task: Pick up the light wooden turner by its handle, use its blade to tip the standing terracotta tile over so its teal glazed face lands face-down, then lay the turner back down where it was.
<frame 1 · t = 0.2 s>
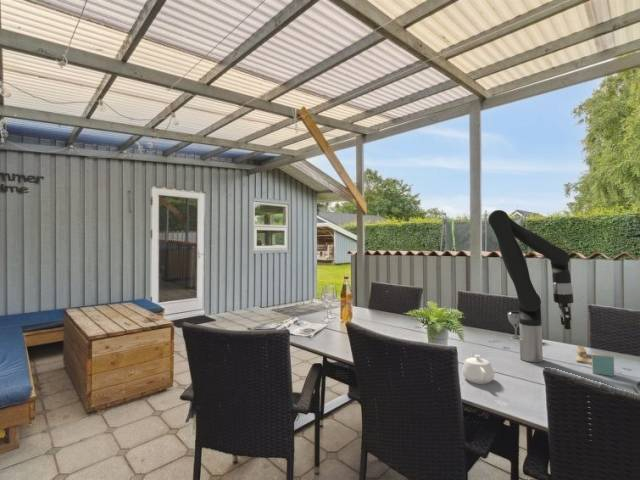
hand: (565, 327, 156), 17 cm above the table, tool pointing down, fingers open, 8 cm apart
tile: (602, 364, 143), point 4 cm above the table
teapot: (477, 379, 141), on the table
wine glass: (516, 337, 198), on the table
turner: (582, 358, 161), on the table
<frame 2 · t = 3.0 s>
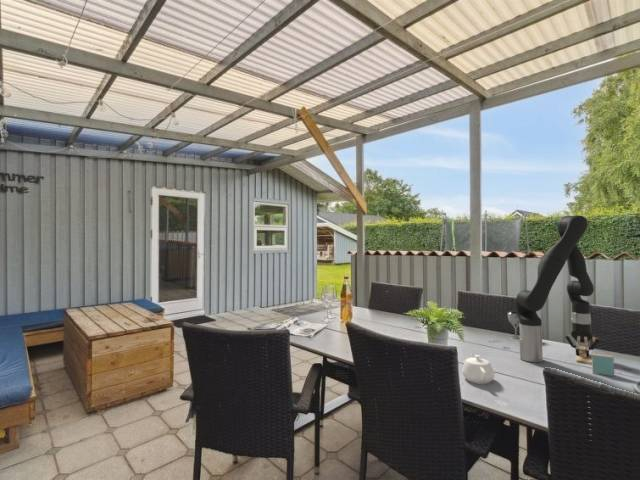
hand: (582, 356, 163), 0 cm above the table, tool pointing down, fingers closed on turner, 2 cm apart
turner: (582, 358, 161), on the table, touching gripper
everything else where it was.
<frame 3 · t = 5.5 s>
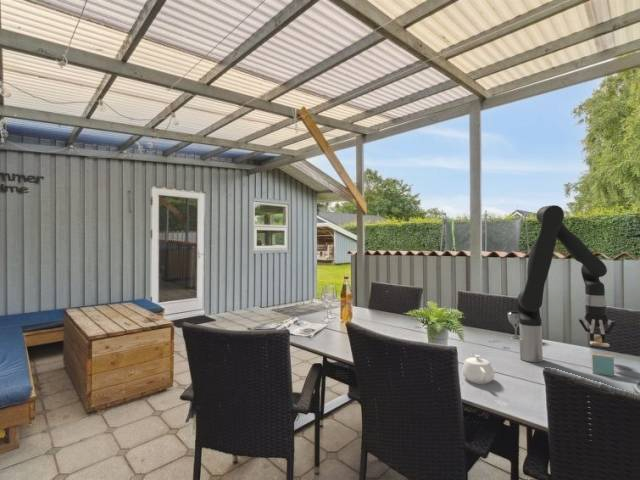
hand: (597, 341, 155), 10 cm above the table, tool pointing down, fingers closed on turner, 2 cm apart
turner: (598, 344, 153), point 9 cm above the table, tilted 9°, touching gripper
everything else where it was.
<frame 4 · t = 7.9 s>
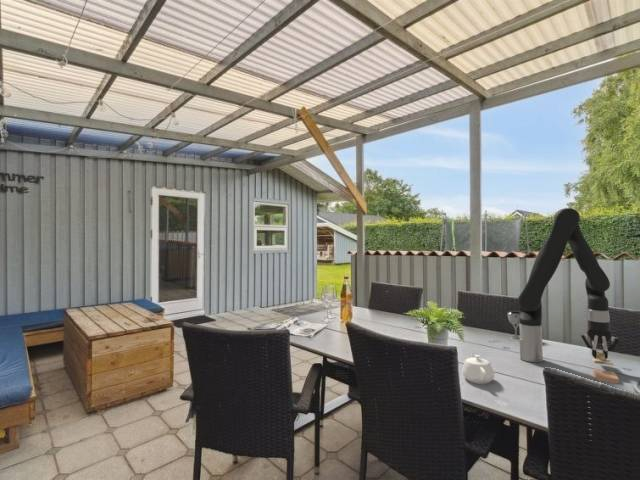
hand: (599, 358, 149), 5 cm above the table, tool pointing down, fingers closed on turner, 2 cm apart
tile: (605, 376, 138), point 1 cm above the table, tilted 90°
turner: (600, 361, 146), point 4 cm above the table, tilted 9°, touching gripper
everything else where it was.
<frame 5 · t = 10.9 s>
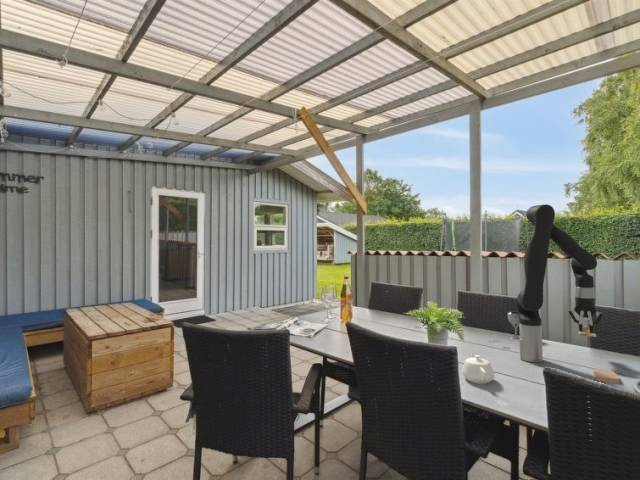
hand: (585, 332, 161), 13 cm above the table, tool pointing down, fingers closed on turner, 2 cm apart
turner: (586, 334, 159), point 12 cm above the table, tilted 9°, touching gripper
everything else where it was.
when the fingers open (2 cm above the table, at t = 13.5 s): turner drops 1 cm, on the table.
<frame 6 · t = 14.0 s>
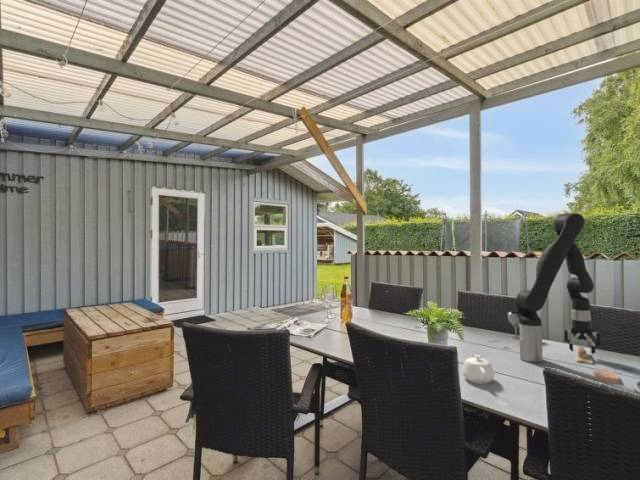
hand: (582, 352, 163), 2 cm above the table, tool pointing down, fingers open, 7 cm apart
turner: (582, 358, 161), on the table
everything else where it was.
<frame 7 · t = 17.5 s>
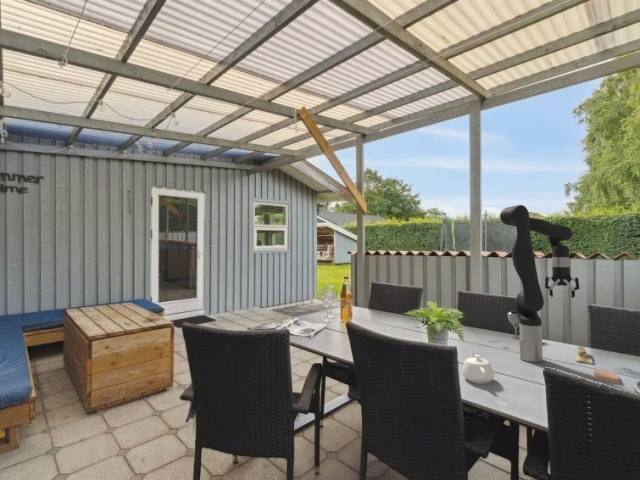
hand: (562, 297, 171), 28 cm above the table, tool pointing down, fingers open, 8 cm apart
nothing on the table moved.
at the end: tile inside the target area (0.1 cm from its centre), point 0.8 cm above the table; tile tilted 90°; turner inside the target area (0.1 cm from its centre), on the table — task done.
